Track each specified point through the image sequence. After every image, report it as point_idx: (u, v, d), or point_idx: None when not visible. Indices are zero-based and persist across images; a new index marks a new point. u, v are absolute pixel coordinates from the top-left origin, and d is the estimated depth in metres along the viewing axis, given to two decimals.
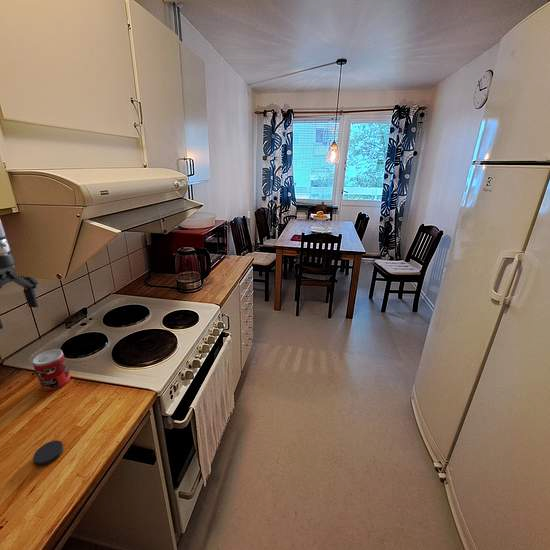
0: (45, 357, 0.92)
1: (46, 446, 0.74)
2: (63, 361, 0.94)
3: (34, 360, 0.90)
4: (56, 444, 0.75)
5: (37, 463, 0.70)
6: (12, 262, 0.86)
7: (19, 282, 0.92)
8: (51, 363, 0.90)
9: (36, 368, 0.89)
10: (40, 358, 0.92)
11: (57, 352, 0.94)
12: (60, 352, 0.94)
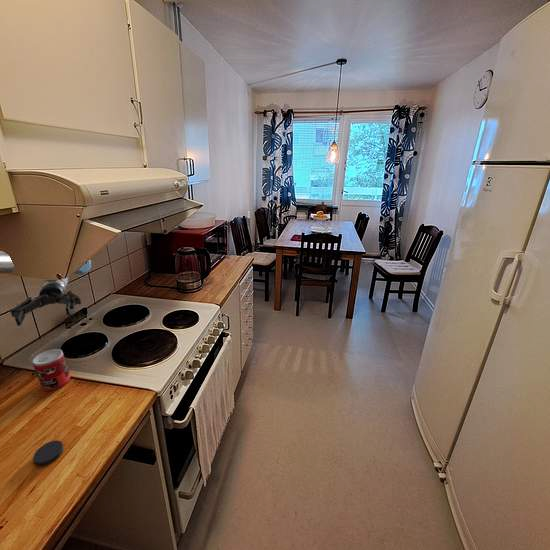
0: (45, 357, 0.92)
1: (46, 446, 0.74)
2: (63, 361, 0.94)
3: (34, 360, 0.90)
4: (56, 444, 0.75)
5: (37, 463, 0.70)
6: None
7: (33, 307, 1.02)
8: (51, 363, 0.90)
9: (36, 368, 0.89)
10: (40, 358, 0.92)
11: (57, 352, 0.94)
12: (60, 352, 0.94)
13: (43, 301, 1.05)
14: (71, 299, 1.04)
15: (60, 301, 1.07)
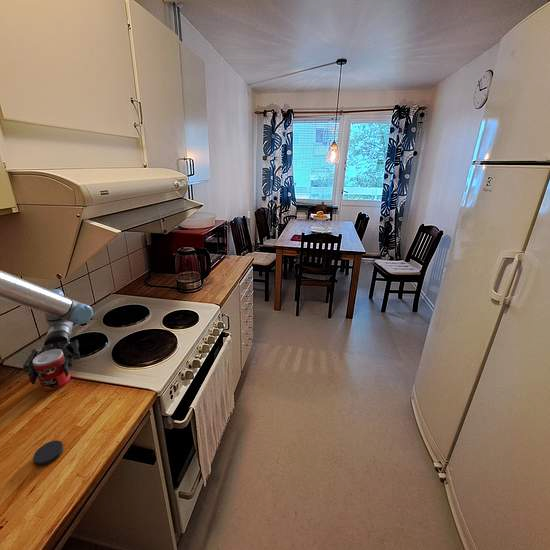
0: (46, 357, 0.92)
1: (46, 446, 0.74)
2: (63, 361, 0.94)
3: (34, 360, 0.90)
4: (56, 444, 0.75)
5: (37, 463, 0.70)
6: None
7: None
8: (51, 363, 0.90)
9: (36, 368, 0.89)
10: (40, 358, 0.92)
11: (57, 352, 0.94)
12: (60, 352, 0.94)
13: None
14: (69, 355, 0.97)
15: None
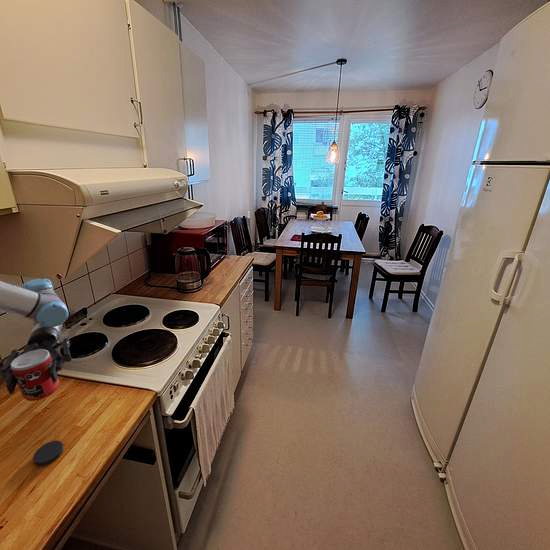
0: (28, 359, 0.74)
1: (46, 446, 0.74)
2: (50, 364, 0.76)
3: (13, 363, 0.72)
4: (56, 444, 0.75)
5: (37, 463, 0.70)
6: None
7: None
8: (34, 366, 0.72)
9: (15, 373, 0.71)
10: (21, 360, 0.74)
11: (43, 353, 0.77)
12: (46, 353, 0.76)
13: None
14: (57, 357, 0.79)
15: (50, 354, 0.83)
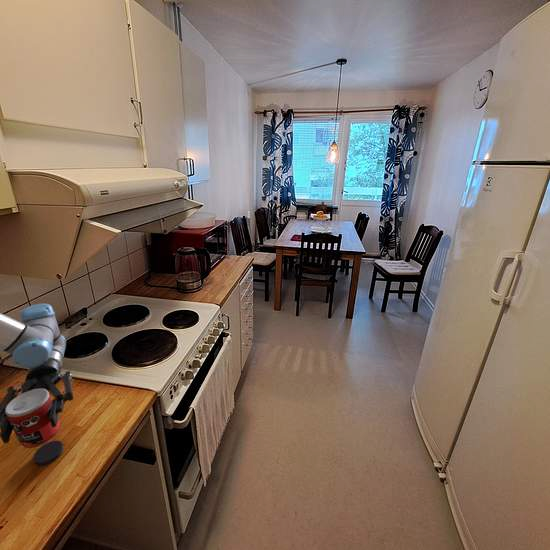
0: (25, 401, 0.66)
1: (46, 446, 0.74)
2: (49, 406, 0.68)
3: (8, 408, 0.65)
4: (56, 444, 0.75)
5: (37, 463, 0.70)
6: None
7: None
8: (32, 412, 0.64)
9: (10, 420, 0.64)
10: (17, 404, 0.66)
11: (42, 394, 0.69)
12: (45, 394, 0.68)
13: None
14: (58, 396, 0.71)
15: (50, 391, 0.75)
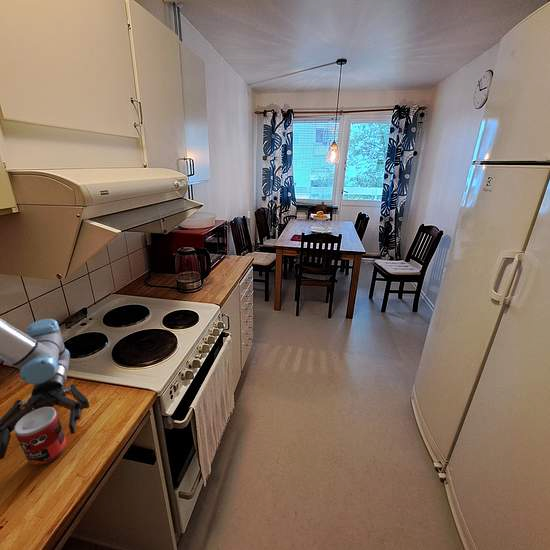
0: (33, 420, 0.69)
1: None
2: (56, 424, 0.71)
3: (17, 427, 0.67)
4: None
5: None
6: None
7: None
8: (40, 431, 0.67)
9: (19, 438, 0.66)
10: (25, 423, 0.68)
11: (49, 412, 0.71)
12: (52, 412, 0.71)
13: (37, 406, 0.76)
14: (76, 404, 0.76)
15: (60, 404, 0.78)
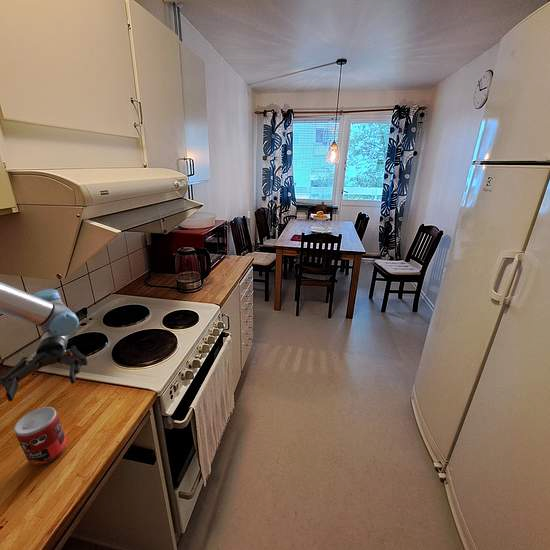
0: (33, 420, 0.69)
1: None
2: (56, 424, 0.71)
3: (17, 427, 0.67)
4: None
5: None
6: None
7: (29, 371, 0.83)
8: (40, 431, 0.67)
9: (19, 438, 0.66)
10: (25, 423, 0.68)
11: (49, 412, 0.71)
12: (52, 412, 0.71)
13: (41, 362, 0.86)
14: (76, 360, 0.85)
15: (62, 361, 0.88)
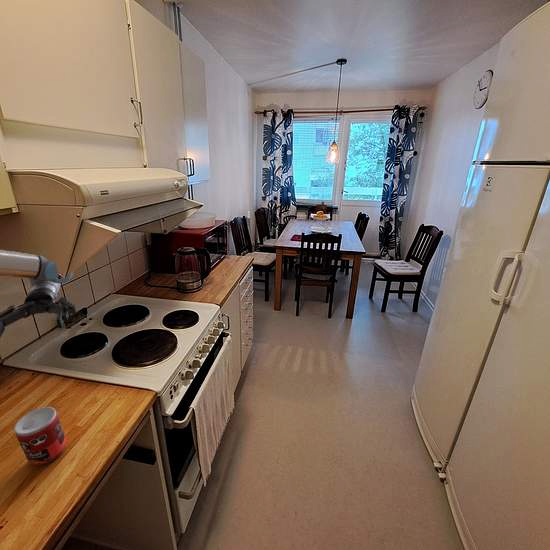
0: (33, 420, 0.69)
1: None
2: (56, 424, 0.71)
3: (17, 427, 0.67)
4: None
5: None
6: None
7: (16, 317, 0.82)
8: (40, 431, 0.67)
9: (19, 438, 0.66)
10: (25, 423, 0.68)
11: (49, 412, 0.71)
12: (52, 412, 0.71)
13: (29, 310, 0.85)
14: (64, 308, 0.84)
15: (50, 310, 0.87)
